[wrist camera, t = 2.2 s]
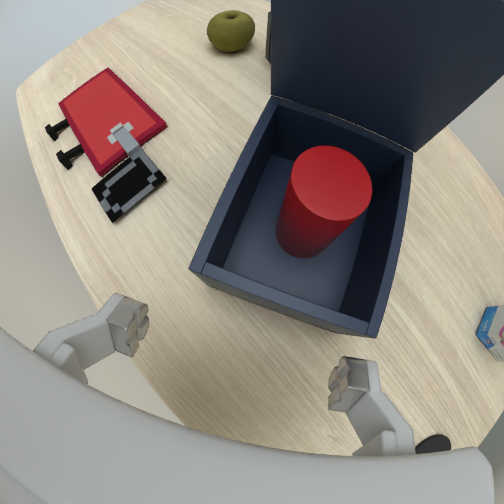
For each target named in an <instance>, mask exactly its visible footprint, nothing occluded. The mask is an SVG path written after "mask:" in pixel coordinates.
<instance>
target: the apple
mask: <svg viewBox="0 0 504 504" xmlns="http://www.w3.org/2000/svg"><path fill="white" fill-rule="evenodd" d="M254 32H255V23H254V21H253V19H252V18H251V17H250V16H249V15H248V14H246V13H243V12H240V11H225V12H222V13H219V14H217V15H215V16H214V17H213V18H212V19H211V20H210V22H209V24H208V27H207V35H208V38H209V40H210V42H211V43H212V44H213V45H214V46H215V47H216V48H217V49H219V50H221V51H224V52H233V51H238V50H240V49H242V48H244V47H245V46H246V45H247V44H248V43H249V42H250V41H251V39H252V37H253V35H254Z"/></svg>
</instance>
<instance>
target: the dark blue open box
mask: <svg viewBox="0 0 504 504" xmlns="http://www.w3.org/2000/svg"><path fill="white" fill-rule="evenodd" d="M316 146H334V147H338V148H341V149H343V150H345V151H347V152H349V153H351V154H352V155H354V156H355V157H356V158H357V159H358V160H359V161H360V162H361V163H362V164H363V165H364V167H365V168H366V170H367V172H368V174H369V176H370V179H371V183H372V196H371V200H370V203H369V205H368V206H367V208H366V209H365V211H364V212H363V213H362V214H361V215H360V216H359V217H358V218H357V219H356V220H355V221H354V222H353V223H351V224H350V225H349V226H348V227H347V228H346V229H345V230H344V231H343V232H342V233H341V234H340V235H339V236H338V237H337V238H336V239H335V240H334V241H333V242H332V243H331V244H330V245H329V246H328V247H327V248H326V249H324V250H323V251H322V252H321V253H320V254H318V255H317V256H315V257H312V258H307V259H302V258H297V257H294V256H292V255H290V254H288V253H287V252H286V251H284V250H283V248H282V247H281V246H280V244H279V242H278V240H277V237H276V224H277V220H278V217H279V213H280V210H281V206H282V203H283V199H284V196H285V192H286V189H287V185H288V182H289V178H290V174H291V171H292V167H293V165H294V163H295V161H296V159H297V158H298V157H299V156H300V155H301V154H302V153H303V152H305V151H306V150H308V149H310V148H313V147H316ZM412 163H413V152H412V151H410V150H408V149H405V148H404V147H402V146H400V145H398V144H396V143H394V142H392V141H390V140H388V139H386V138H384V137H382V136H380V135H378V134H375V133H373V132H371V131H369V130H366V129H364V128H362V127H360V126H357V125H355V124H352V123H350V122H348V121H345V120H343V119H340V118H338V117H335V116H332V115H330V114H327V113H324V112H322V111H319V110H316V109H313V108H310V107H307V106H304V105H301V104H298V103H295V102H292V101H289V100H286V99H282V98H279V97H275V96H271V97H270V99H269V101H268V103H267V105H266V107H265V109H264V110H263V112H262V114H261V116H260V118H259V120H258V122H257V124H256V126H255V128H254V130H253V132H252V133H251V135H250V137H249V139H248V141H247V143H246V145H245V147H244V149H243V151H242V153H241V155H240V157H239V159H238V161H237V163H236V165H235V167H234V170H233V172H232V174H231V176H230V178H229V180H228V182H227V184H226V186H225V188H224V190H223V192H222V195H221V197H220V199H219V201H218V203H217V205H216V207H215V210H214V212H213V214H212V216H211V218H210V221H209V223H208V225H207V227H206V229H205V232H204V234H203V236H202V238H201V241H200V243H199V245H198V248H197V250H196V252H195V254H194V257H193V259H192V261H191V264H190V266H189V270H190V271H192V272H193V273H194V274H195V275H196V276H197V277H199V278H200V279H201V280H202V281H203V282H205V283H206V284H207V285H208V286H211V287H213V288H216V289H218V290H221V291H223V292H226V293H228V294H231V295H233V296H236V297H238V298H241V299H244V300H246V301H249V302H251V303H254V304H257V305H259V306H262V307H265V308H267V309H270V310H273V311H275V312H278V313H281V314H283V315H286V316H289V317H292V318H294V319H297V320H300V321H303V322H305V323H308V324H311V325H314V326H317V327H320V328H323V329H326V330H328V331H331V332H334V333H338V334H345V335H352V336H360V337H368V338H377V335H378V332H379V328H380V325H381V322H382V319H383V315H384V312H385V308H386V305H387V301H388V298H389V294H390V290H391V286H392V282H393V278H394V274H395V270H396V266H397V261H398V257H399V252H400V247H401V242H402V237H403V231H404V225H405V219H406V213H407V206H408V199H409V192H410V183H411V174H412Z"/></svg>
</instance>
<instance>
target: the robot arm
mask: <svg viewBox="0 0 504 504" xmlns="http://www.w3.org/2000/svg"><path fill="white" fill-rule="evenodd" d="M147 312H148V305H147V304H144V303H142V302H139V301H137V300H134V299H132V298H129V297H127V296H124V295H121V294H119V293H115V294H113V295H112V296H111V297H110V299H109V300H108V301H107V302H106V303H105V305H104V306H103V307H102V308H101V309H100V311H99V312H98V313H97V314H96V316H93V315H91V316H89V317H86V318H83V319H81V320H78V321H76V322H73V323H71V324H68V325H66V326H62V327H60V328H57V329H55V330H52V331H49V332H48V333H47V334H46V335H45V337H44V338H43V339H42V340H41V341H40V343H39V344H38V345H37V346H36V348H35V349H34V350H33V351H31V350H30V349H29V348H27V347H26V346H25V345H23V344H22V343H20V342H19V341H18V340H16V339H15V338H14V337H12V336H11V335H10V334H9V333H7V332H6V331H5V330H3V329H2V328H1V327H0V504H494V480H493V472H492V468H491V465H490V463H489V462H488V460H487V459H486V458H485V456H484V455H483V454H482V453H481V451H479V450H478V448H476V447H473V446H472V447H465V448H460V449H454V450H448V451H441V452H434V453H425V454H416V452H415V443H414V435H413V429H412V428H411V427H410V425H409V424H408V423H407V421H406V420H405V419H404V418H403V416H402V415H401V414H400V412H399V411H398V410H397V408H396V407H395V406H394V405H393V403H392V402H391V401H390V399H389V398H388V397H387V396H386V394H385V393H382V392H381V385H380V379H379V372H378V366H377V363H376V361H370V360H364V359H358V358H352V357H346V356H343V357H341V359H340V360H339V366H337V367H335V368H334V369H333V370H332V372H331V375H330V377H329V383H328V388H329V390H330V391H331V394H330V395H329V397H328V410H332V411H339V412H346V414H347V416H348V418H349V420H350V422H351V424H352V425H353V427H354V429H355V431H356V433H357V435H358V437H359V439H360V440H361V442H362V444H363V446H362V447H361V448H359V449H358V450H356V451H355V452H354V453H353V456H340V455H325V454H314V453H305V452H297V451H289V450H283V449H276V448H271V447H265V446H260V445H255V444H250V443H245V442H241V441H236V440H232V439H228V438H224V437H220V436H217V435H213V434H209V433H206V432H202V431H199V430H196V429H193V428H189V427H186V426H183V425H180V424H177V423H174V422H172V421H169V420H166V419H163V418H160V417H157V416H155V415H153V414H150V413H147V412H145V411H143V410H140V409H138V408H135V407H133V406H131V405H129V404H126V403H124V402H122V401H120V400H117V399H115V398H113V397H111V396H109V395H107V394H105V393H103V392H101V391H99V390H97V389H95V388H93V387H91V386H89V385H87V383H88V379H87V377H86V375H85V373H84V371H83V370H84V369H86V368H88V367H90V366H91V365H93V364H95V363H97V362H98V361H100V360H102V359H103V358H105V357H107V356H109V355H110V354H112V353H114V352H115V351H117V352H120V353H122V354H125V355H127V356H130V357H133V356H134V354H135V352H136V351H137V349H138V347H139V342H138V341H140V340H142V339H144V337H145V336H146V334H147V331H148V328H149V318H148V316H147V315H146V314H147Z"/></svg>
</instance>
